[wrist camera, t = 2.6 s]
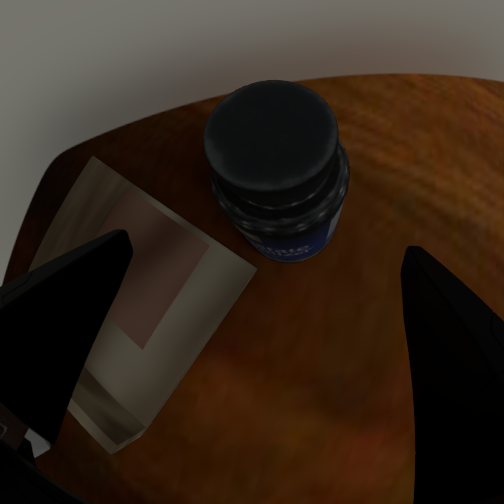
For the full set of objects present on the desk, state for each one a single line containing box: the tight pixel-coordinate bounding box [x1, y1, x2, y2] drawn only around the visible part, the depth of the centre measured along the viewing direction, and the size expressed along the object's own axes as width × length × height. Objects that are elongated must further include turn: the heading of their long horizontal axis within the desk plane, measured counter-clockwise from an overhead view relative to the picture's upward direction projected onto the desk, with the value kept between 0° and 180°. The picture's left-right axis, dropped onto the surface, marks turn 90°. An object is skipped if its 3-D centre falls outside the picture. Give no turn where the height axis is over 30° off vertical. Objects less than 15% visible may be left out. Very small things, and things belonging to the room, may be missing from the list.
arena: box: [28, 156, 257, 455], centre depth 19 cm, size 14×16×4 cm
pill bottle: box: [203, 80, 350, 263], centre depth 15 cm, size 6×6×11 cm
